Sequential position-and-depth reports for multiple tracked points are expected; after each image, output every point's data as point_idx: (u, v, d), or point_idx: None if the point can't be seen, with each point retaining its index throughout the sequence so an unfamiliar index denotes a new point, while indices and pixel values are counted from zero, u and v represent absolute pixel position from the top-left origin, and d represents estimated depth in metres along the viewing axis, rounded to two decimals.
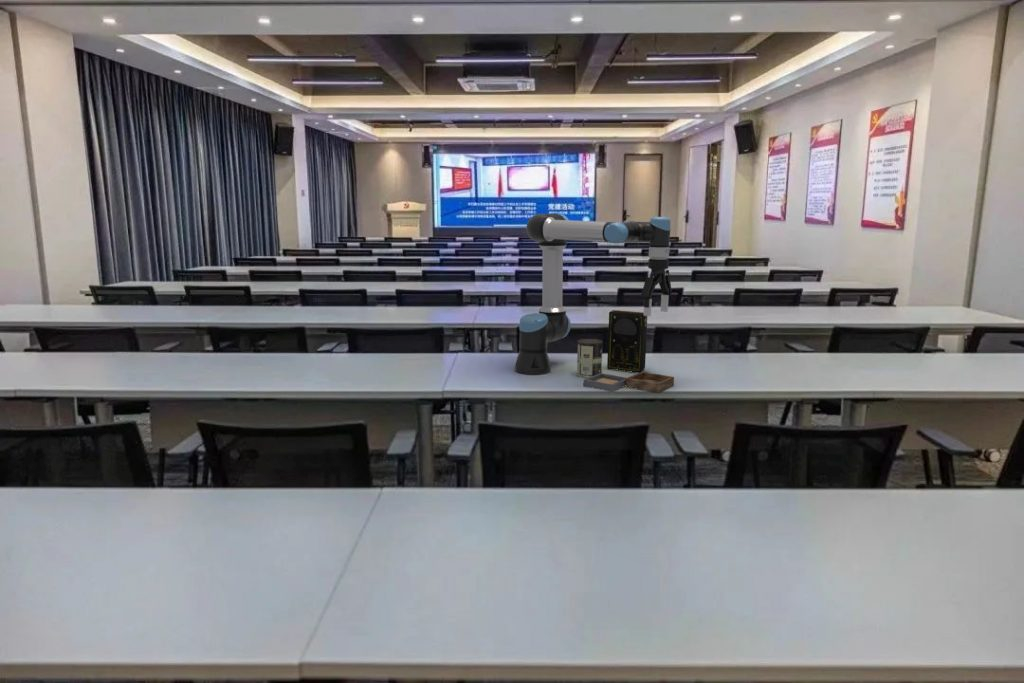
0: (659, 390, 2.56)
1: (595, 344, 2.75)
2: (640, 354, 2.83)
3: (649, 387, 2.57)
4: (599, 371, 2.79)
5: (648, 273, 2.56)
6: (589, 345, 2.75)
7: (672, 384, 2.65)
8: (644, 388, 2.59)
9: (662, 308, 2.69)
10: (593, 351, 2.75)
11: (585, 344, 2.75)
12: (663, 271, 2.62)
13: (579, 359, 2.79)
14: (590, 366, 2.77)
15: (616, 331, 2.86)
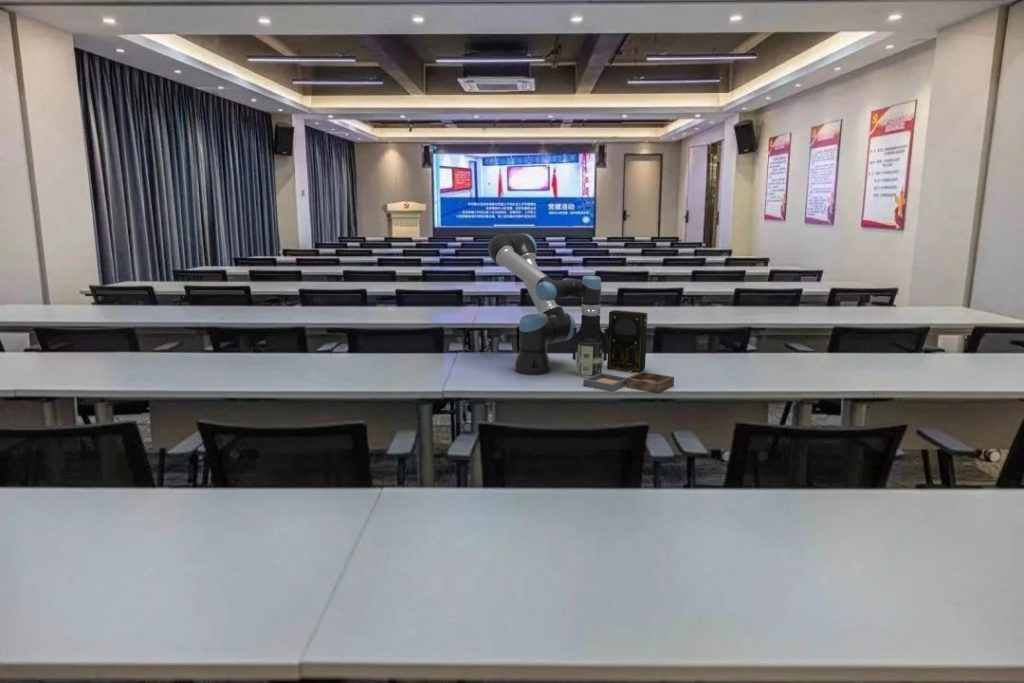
0: (659, 390, 2.56)
1: (595, 344, 2.75)
2: (640, 354, 2.83)
3: (649, 387, 2.57)
4: (599, 371, 2.79)
5: (573, 328, 2.80)
6: (589, 345, 2.75)
7: (672, 384, 2.65)
8: (644, 388, 2.59)
9: None
10: (593, 350, 2.75)
11: (585, 344, 2.75)
12: (596, 327, 2.77)
13: (579, 359, 2.79)
14: (590, 366, 2.77)
15: (616, 331, 2.86)
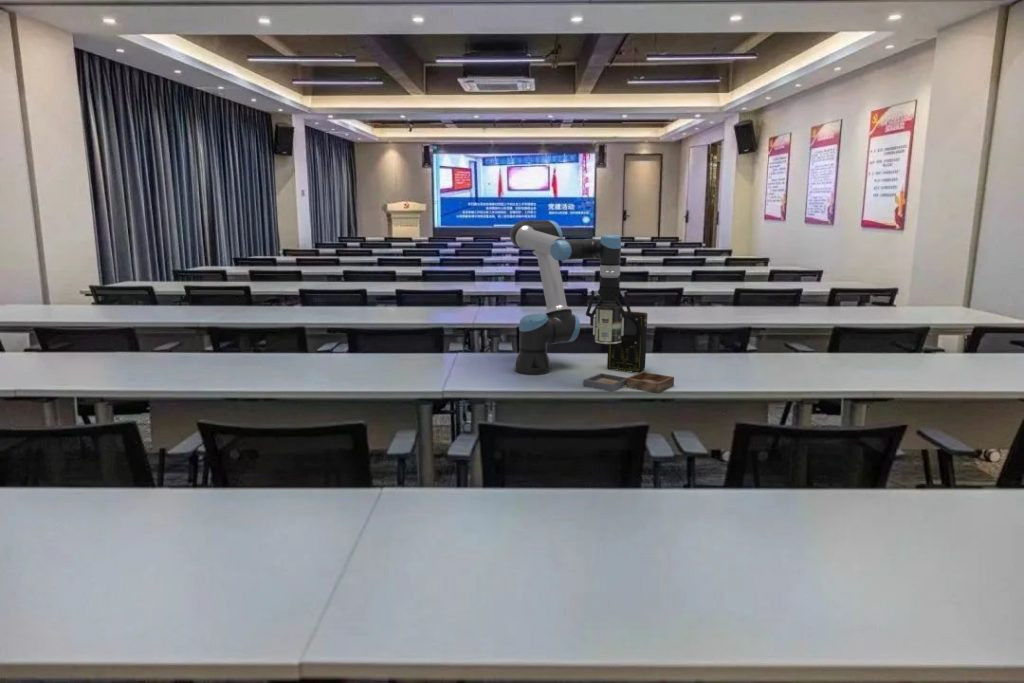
0: (659, 390, 2.56)
1: (615, 308, 2.56)
2: (640, 354, 2.83)
3: (649, 387, 2.57)
4: (619, 338, 2.60)
5: (591, 291, 2.60)
6: (608, 309, 2.56)
7: (672, 384, 2.65)
8: (644, 388, 2.59)
9: None
10: (612, 315, 2.56)
11: (604, 308, 2.56)
12: (616, 290, 2.58)
13: (597, 324, 2.59)
14: (609, 332, 2.57)
15: None
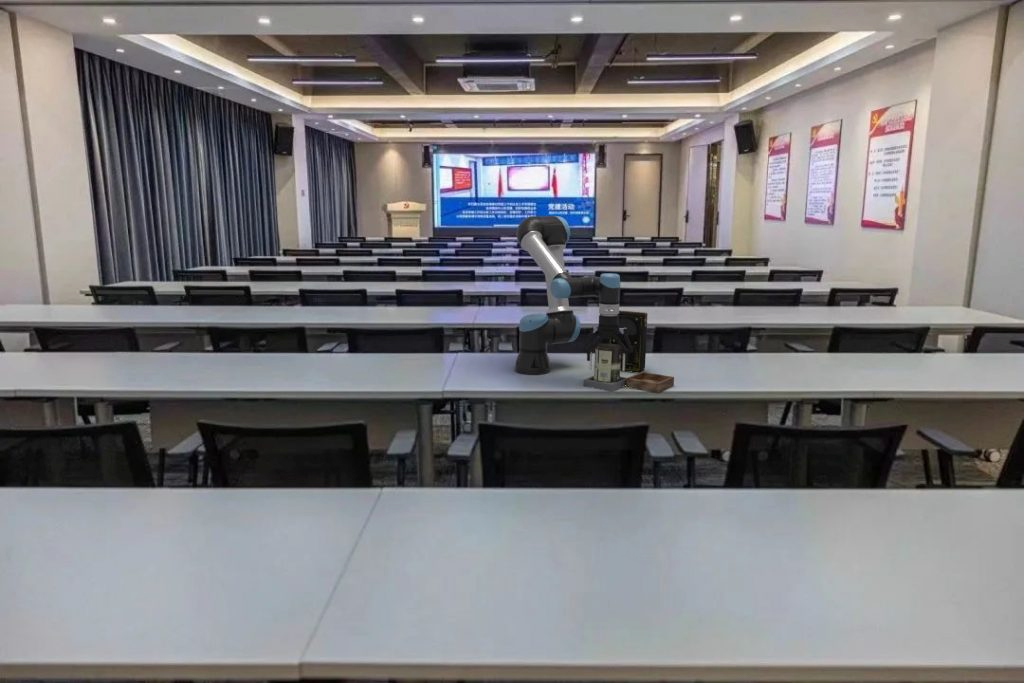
0: (659, 390, 2.56)
1: (614, 349, 2.59)
2: (640, 354, 2.83)
3: (649, 387, 2.57)
4: (618, 378, 2.63)
5: None
6: (608, 350, 2.59)
7: (672, 384, 2.65)
8: (644, 388, 2.59)
9: None
10: (611, 356, 2.59)
11: (603, 349, 2.59)
12: (614, 328, 2.60)
13: (596, 365, 2.62)
14: (608, 373, 2.60)
15: None
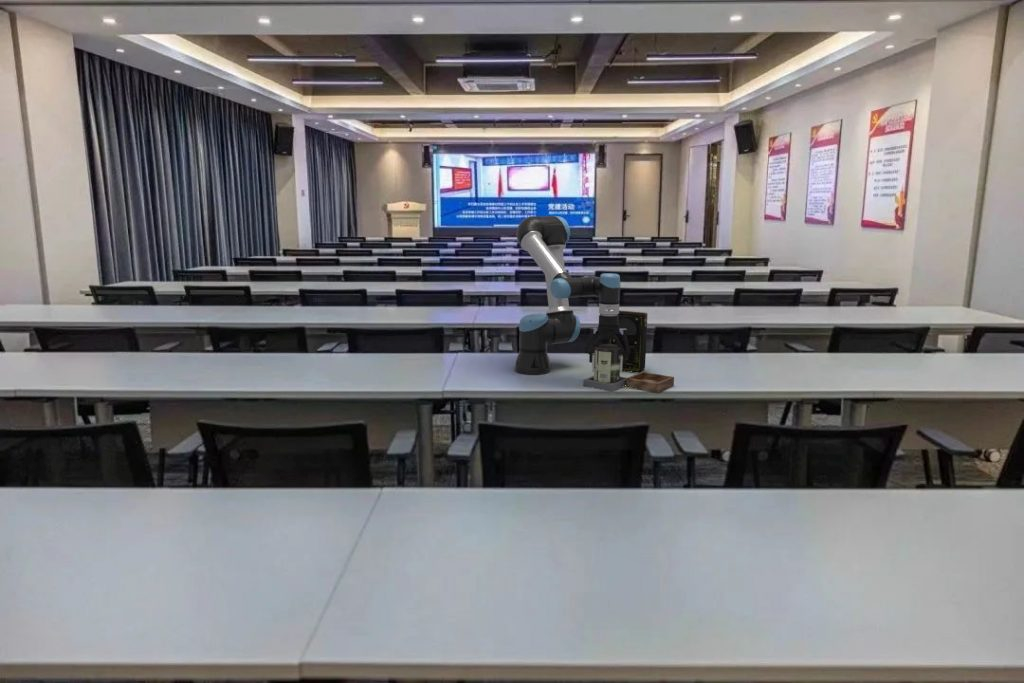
0: (659, 390, 2.56)
1: (613, 350, 2.59)
2: (640, 354, 2.83)
3: (649, 387, 2.57)
4: (617, 379, 2.63)
5: None
6: (607, 351, 2.58)
7: (672, 384, 2.65)
8: (644, 388, 2.59)
9: None
10: (611, 357, 2.59)
11: (603, 350, 2.59)
12: (615, 328, 2.60)
13: (596, 365, 2.62)
14: (608, 373, 2.60)
15: None
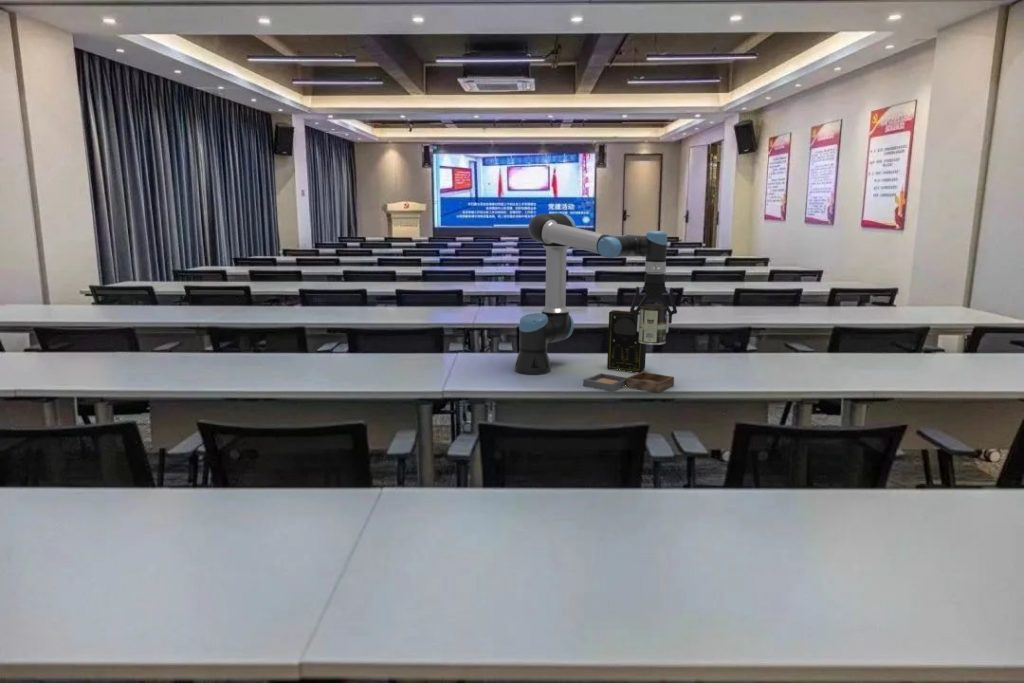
0: (659, 390, 2.56)
1: (660, 308, 2.54)
2: (640, 354, 2.83)
3: (649, 387, 2.57)
4: (664, 338, 2.58)
5: (636, 288, 2.58)
6: (654, 309, 2.54)
7: (672, 384, 2.65)
8: (644, 388, 2.59)
9: None
10: (657, 315, 2.54)
11: (649, 308, 2.54)
12: (661, 286, 2.56)
13: (642, 325, 2.58)
14: (655, 333, 2.55)
15: (616, 331, 2.86)
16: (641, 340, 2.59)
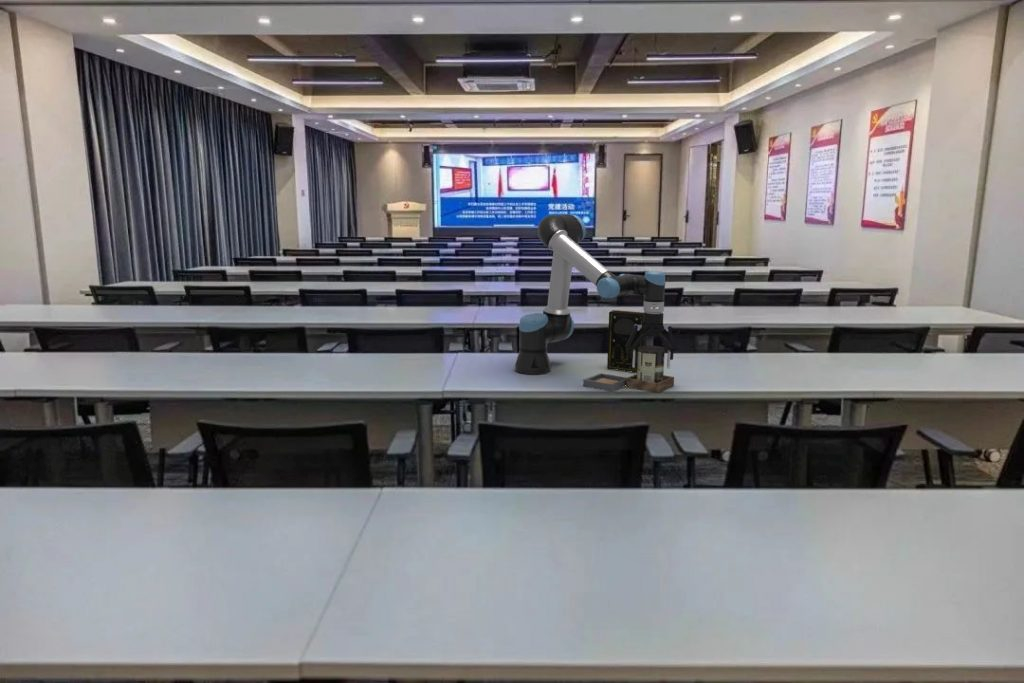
0: (659, 390, 2.56)
1: (658, 351, 2.57)
2: None
3: (649, 387, 2.57)
4: None
5: (634, 325, 2.61)
6: (651, 352, 2.57)
7: (672, 384, 2.65)
8: (644, 388, 2.59)
9: (667, 364, 2.63)
10: (655, 358, 2.58)
11: (647, 351, 2.58)
12: (659, 326, 2.59)
13: (640, 367, 2.61)
14: (652, 375, 2.59)
15: (616, 331, 2.86)
16: None
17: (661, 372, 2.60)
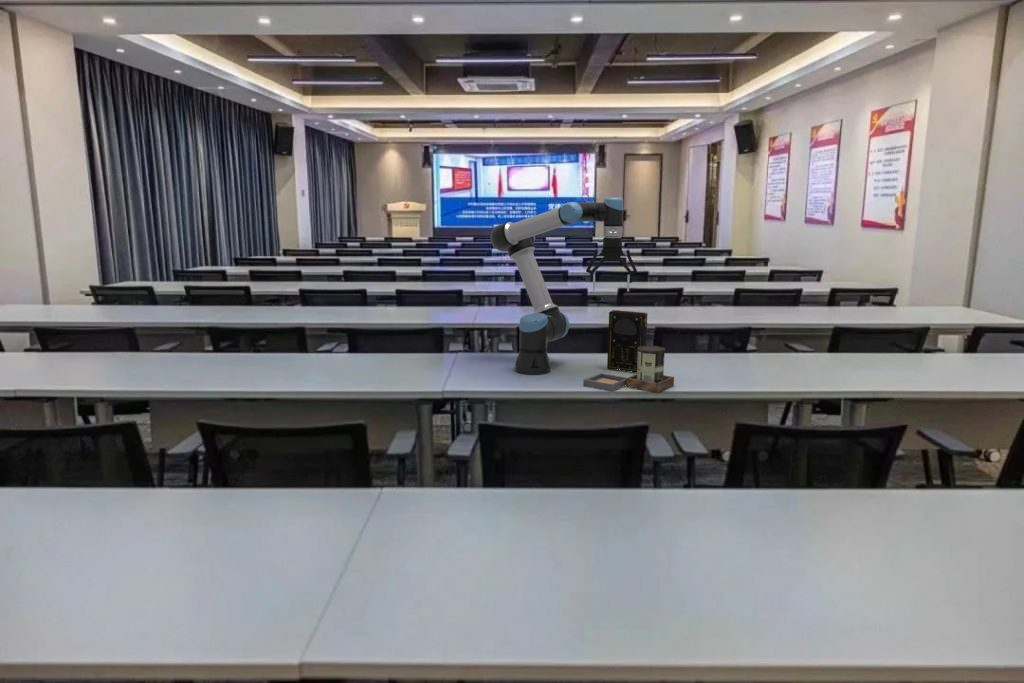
0: (659, 390, 2.56)
1: (658, 351, 2.57)
2: None
3: (649, 387, 2.57)
4: None
5: (595, 250, 2.74)
6: (651, 353, 2.57)
7: (672, 384, 2.65)
8: (644, 388, 2.59)
9: None
10: (655, 358, 2.58)
11: (647, 351, 2.58)
12: (618, 250, 2.71)
13: (640, 367, 2.61)
14: (652, 375, 2.59)
15: (616, 331, 2.86)
16: None
17: (661, 372, 2.60)
